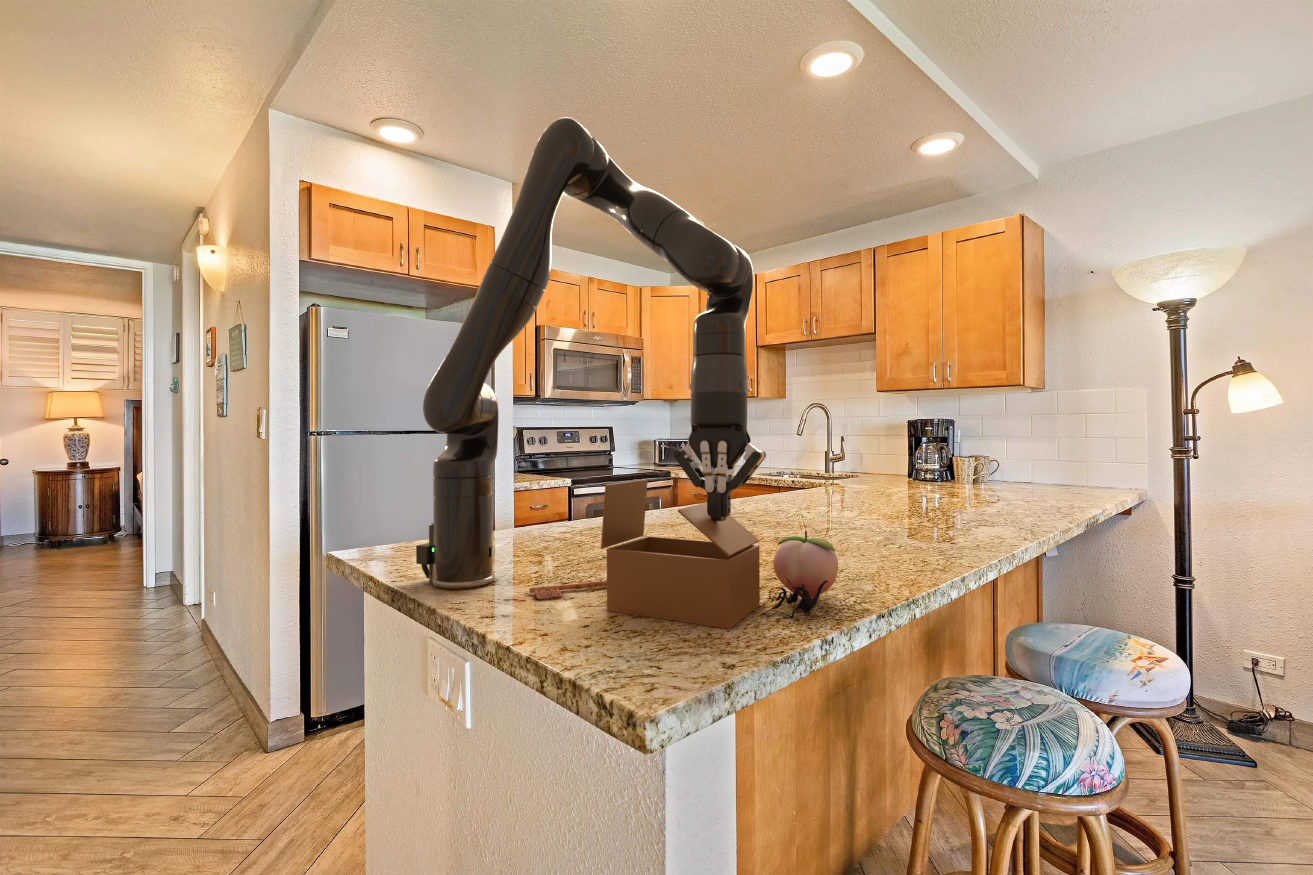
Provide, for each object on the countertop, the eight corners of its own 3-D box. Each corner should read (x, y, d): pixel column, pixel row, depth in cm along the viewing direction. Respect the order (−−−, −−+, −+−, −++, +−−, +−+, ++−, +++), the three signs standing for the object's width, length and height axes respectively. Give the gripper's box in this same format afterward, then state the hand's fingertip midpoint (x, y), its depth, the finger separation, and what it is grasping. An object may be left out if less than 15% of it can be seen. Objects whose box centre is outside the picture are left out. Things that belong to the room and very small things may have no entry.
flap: (758, 541, 86) (759, 540, 86) (728, 556, 76) (729, 555, 76) (711, 502, 90) (713, 500, 90) (677, 511, 79) (678, 509, 79)
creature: (753, 620, 83) (794, 621, 77) (747, 579, 84) (787, 577, 77) (795, 611, 87) (838, 611, 81) (789, 572, 88) (831, 570, 82)
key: (533, 602, 89) (632, 592, 94) (533, 596, 89) (632, 586, 94) (527, 589, 95) (621, 580, 100) (527, 583, 95) (621, 574, 100)
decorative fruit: (848, 598, 90) (848, 529, 90) (828, 611, 83) (828, 537, 83) (788, 588, 96) (787, 524, 96) (764, 600, 89) (764, 531, 89)
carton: (759, 605, 86) (759, 483, 86) (729, 628, 76) (729, 489, 76) (642, 590, 95) (641, 479, 95) (600, 609, 85) (600, 484, 84)
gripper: (775, 391, 83) (775, 520, 83) (685, 394, 89) (685, 514, 89) (757, 387, 76) (757, 527, 76) (662, 390, 82) (662, 520, 82)
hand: (718, 520), depth 83 cm, fingers closed
